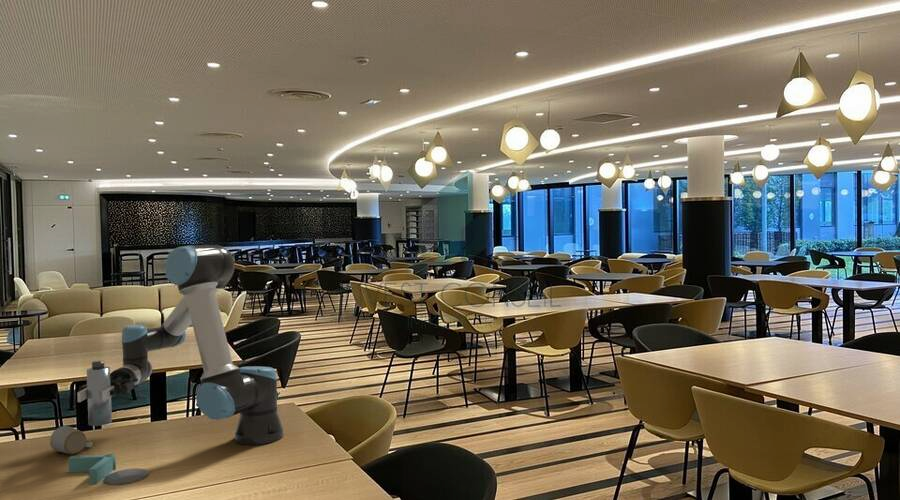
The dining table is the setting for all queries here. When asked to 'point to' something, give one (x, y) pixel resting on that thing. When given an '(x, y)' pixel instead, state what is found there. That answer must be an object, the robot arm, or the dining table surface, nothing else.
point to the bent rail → (93, 466)
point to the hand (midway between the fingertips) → (91, 396)
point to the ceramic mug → (68, 440)
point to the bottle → (98, 394)
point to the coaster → (126, 476)
